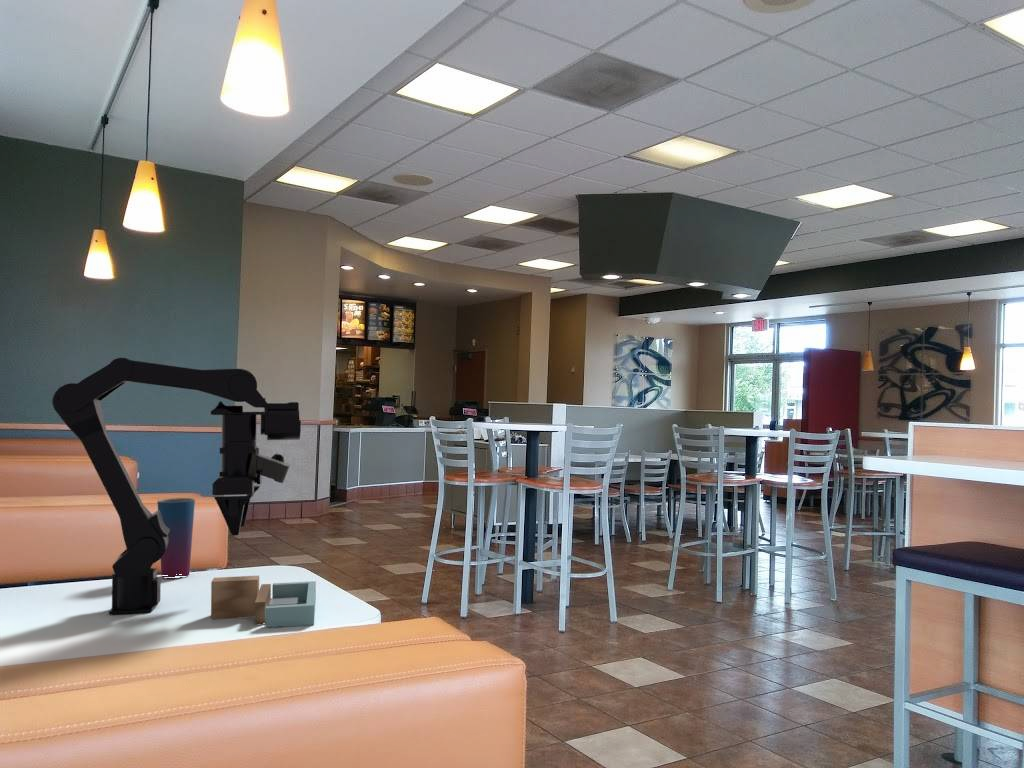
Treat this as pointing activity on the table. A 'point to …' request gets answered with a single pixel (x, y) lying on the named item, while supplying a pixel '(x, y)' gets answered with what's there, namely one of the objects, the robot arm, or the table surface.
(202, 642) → the table surface
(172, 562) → the cup
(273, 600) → the tile slate
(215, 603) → the scraper
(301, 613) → the teal corner frame
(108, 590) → the table surface
